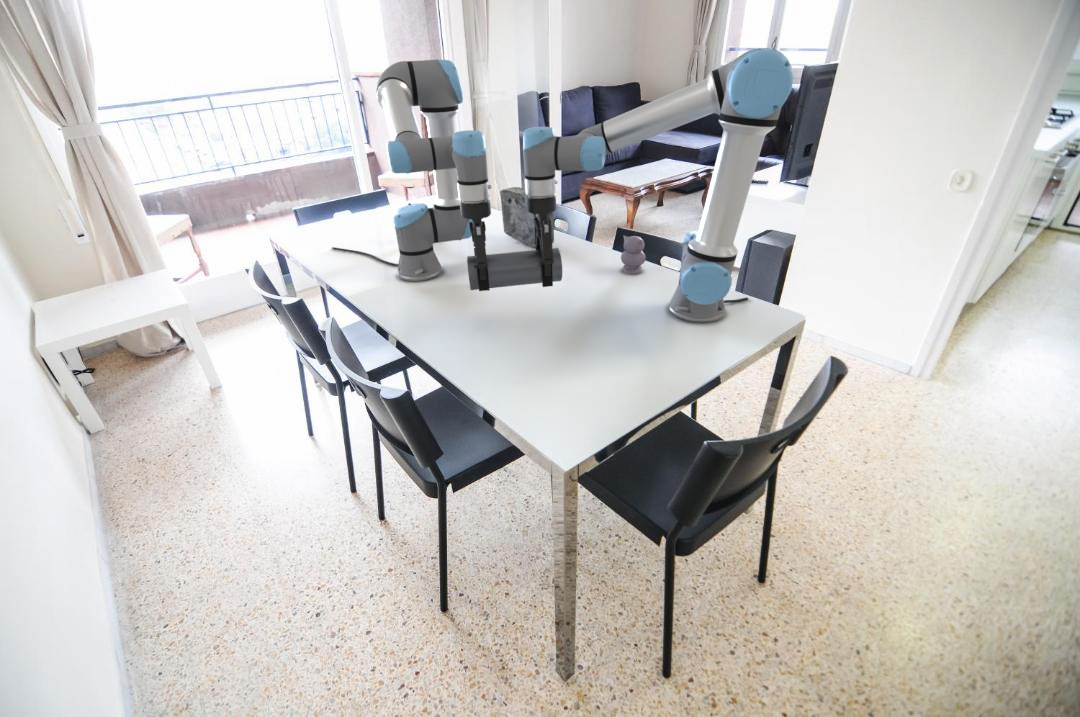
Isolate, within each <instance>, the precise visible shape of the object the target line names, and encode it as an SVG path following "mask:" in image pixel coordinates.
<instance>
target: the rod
mask: <svg viewBox="0 0 1080 717" xmlns="http://www.w3.org/2000/svg"><path fill="white" fill-rule="evenodd" d="M552 249H553V260H554V263H552V275H553V283H555V282H562V279H563V261H562V255H561V254H562V253H561V251H560V249H559V247H552ZM486 258H487V264H488V278H489V288H490V289H495V288H505V287H514V286H525V285H534V284H535V285H536V284H542V266H541V265H540V262H542V255H541V250H536V249H533V250H532V249H531V250H523V251H510V252H502V253H491V254H486ZM480 263H484V262H480ZM466 264H467V273H468V281H469V288H470V291H477V290H479V285H478V275H477V268H474V265H477V260H476V256H475V255H470V256H466Z"/></svg>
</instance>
